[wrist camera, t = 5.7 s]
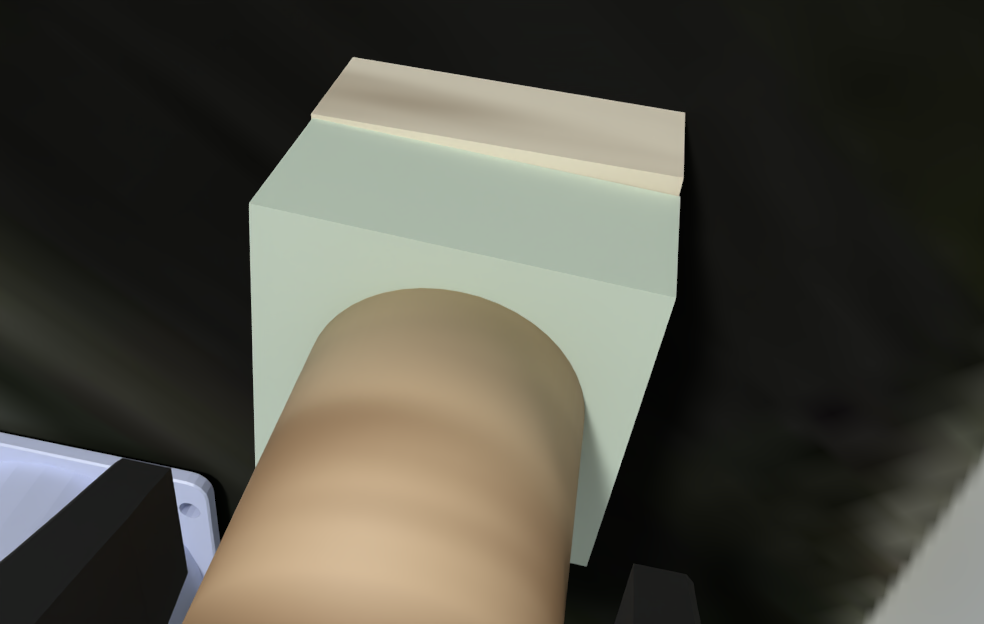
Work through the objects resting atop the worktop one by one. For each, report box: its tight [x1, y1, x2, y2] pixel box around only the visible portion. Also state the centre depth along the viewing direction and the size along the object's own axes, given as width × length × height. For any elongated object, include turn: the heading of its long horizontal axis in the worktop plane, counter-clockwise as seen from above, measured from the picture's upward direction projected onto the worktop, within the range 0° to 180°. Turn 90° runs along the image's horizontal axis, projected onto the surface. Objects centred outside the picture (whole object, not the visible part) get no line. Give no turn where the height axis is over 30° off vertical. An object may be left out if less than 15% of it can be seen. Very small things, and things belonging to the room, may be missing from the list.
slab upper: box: [249, 118, 680, 567], centre depth 14 cm, size 6×6×2 cm
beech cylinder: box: [182, 288, 585, 624], centre depth 12 cm, size 4×4×4 cm
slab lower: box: [311, 57, 685, 196], centre depth 16 cm, size 6×6×2 cm
